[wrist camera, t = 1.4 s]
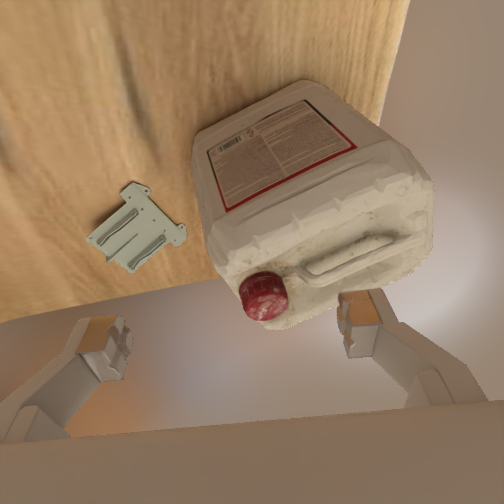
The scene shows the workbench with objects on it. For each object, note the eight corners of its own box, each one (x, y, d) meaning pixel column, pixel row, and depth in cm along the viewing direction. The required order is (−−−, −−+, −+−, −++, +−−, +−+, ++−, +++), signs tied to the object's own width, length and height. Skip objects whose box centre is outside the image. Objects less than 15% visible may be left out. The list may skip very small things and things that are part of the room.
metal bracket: (137, 287, 62) (70, 240, 51) (131, 270, 66) (68, 224, 55) (195, 237, 62) (140, 181, 52) (185, 224, 66) (133, 169, 56)
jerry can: (225, 218, 63) (267, 356, 42) (175, 134, 50) (197, 273, 29) (340, 163, 61) (446, 279, 40) (318, 60, 48) (458, 150, 26)
